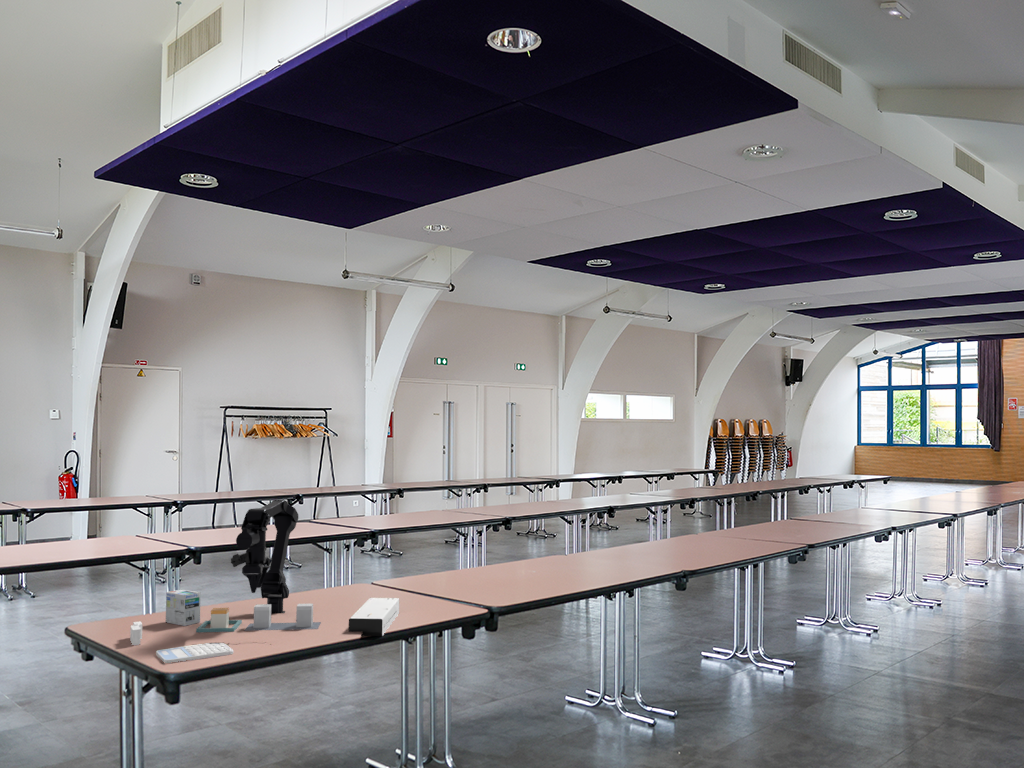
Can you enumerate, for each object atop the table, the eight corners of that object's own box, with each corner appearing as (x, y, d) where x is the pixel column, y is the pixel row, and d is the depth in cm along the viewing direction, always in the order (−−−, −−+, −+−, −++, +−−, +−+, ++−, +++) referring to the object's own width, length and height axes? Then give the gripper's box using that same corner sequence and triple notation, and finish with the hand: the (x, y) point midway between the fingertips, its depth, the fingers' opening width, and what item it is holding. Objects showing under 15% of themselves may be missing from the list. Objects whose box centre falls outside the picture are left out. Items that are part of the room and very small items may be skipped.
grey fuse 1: (255, 625, 282) (256, 604, 282) (270, 625, 282) (271, 604, 283) (253, 628, 278) (253, 607, 278) (268, 627, 278) (269, 606, 279)
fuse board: (249, 627, 284) (250, 623, 285) (321, 626, 287) (321, 622, 287) (243, 635, 275) (243, 630, 275) (317, 633, 277) (317, 628, 277)
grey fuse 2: (297, 624, 283) (298, 603, 284) (312, 624, 284) (313, 603, 284) (296, 627, 279) (296, 606, 280) (311, 627, 280) (311, 606, 280)
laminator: (382, 638, 274) (382, 619, 274) (345, 637, 274) (345, 618, 274) (399, 614, 307) (399, 598, 308) (366, 614, 308) (366, 597, 308)
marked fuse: (213, 628, 280) (213, 607, 281) (228, 628, 281) (229, 607, 281) (210, 631, 276) (210, 610, 277) (225, 631, 277) (226, 610, 277)
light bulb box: (200, 622, 292) (201, 591, 292) (184, 626, 286) (185, 595, 287) (180, 619, 297) (181, 588, 298) (164, 622, 291) (165, 591, 292)
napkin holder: (140, 648, 259) (140, 630, 259) (107, 647, 260) (107, 628, 261) (167, 636, 273) (168, 619, 274) (136, 635, 275) (136, 618, 276)
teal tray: (205, 628, 284) (205, 620, 284) (241, 627, 285) (241, 619, 285) (196, 636, 272) (196, 629, 272) (233, 636, 273) (234, 628, 273)
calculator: (234, 655, 252) (234, 649, 252) (164, 666, 240) (164, 659, 241) (222, 646, 263) (222, 639, 263) (154, 655, 251) (155, 649, 251)
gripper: (239, 541, 298) (237, 585, 298) (227, 549, 280) (225, 595, 279) (270, 541, 300) (269, 585, 299) (261, 548, 281) (259, 595, 280)
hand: (255, 590), depth 289 cm, fingers open, 9 cm apart
